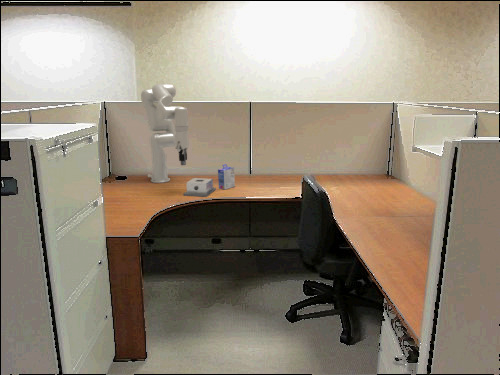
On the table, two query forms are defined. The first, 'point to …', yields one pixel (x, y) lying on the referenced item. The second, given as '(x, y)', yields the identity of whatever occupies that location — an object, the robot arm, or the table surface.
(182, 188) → the table surface
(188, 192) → the block
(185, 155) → the steel pin
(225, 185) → the ink cartridge box
